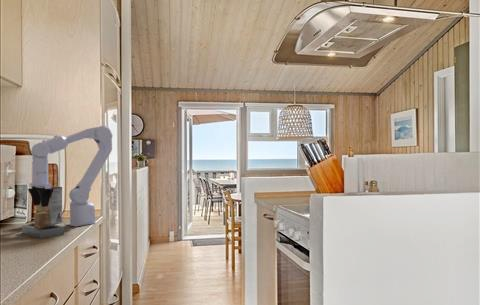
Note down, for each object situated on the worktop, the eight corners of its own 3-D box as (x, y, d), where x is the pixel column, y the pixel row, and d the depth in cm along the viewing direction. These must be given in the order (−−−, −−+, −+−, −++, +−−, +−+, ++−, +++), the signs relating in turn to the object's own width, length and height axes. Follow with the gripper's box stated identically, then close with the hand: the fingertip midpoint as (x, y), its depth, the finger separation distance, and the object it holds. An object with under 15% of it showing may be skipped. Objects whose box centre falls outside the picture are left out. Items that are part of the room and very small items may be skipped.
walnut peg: (44, 232, 142) (44, 212, 142) (48, 234, 139) (48, 212, 139) (34, 234, 139) (34, 213, 139) (38, 235, 137) (38, 214, 137)
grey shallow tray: (43, 229, 148) (43, 222, 148) (63, 234, 137) (63, 226, 137) (22, 233, 142) (22, 225, 142) (41, 238, 131) (40, 230, 131)
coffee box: (35, 224, 161) (34, 187, 161) (47, 221, 167) (46, 186, 167) (51, 225, 158) (51, 187, 158) (63, 222, 164) (62, 186, 164)
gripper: (22, 172, 151) (23, 205, 151) (37, 173, 142) (37, 208, 142) (40, 171, 157) (41, 203, 156) (56, 172, 147) (56, 206, 147)
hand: (40, 205), depth 149 cm, fingers open, 7 cm apart
